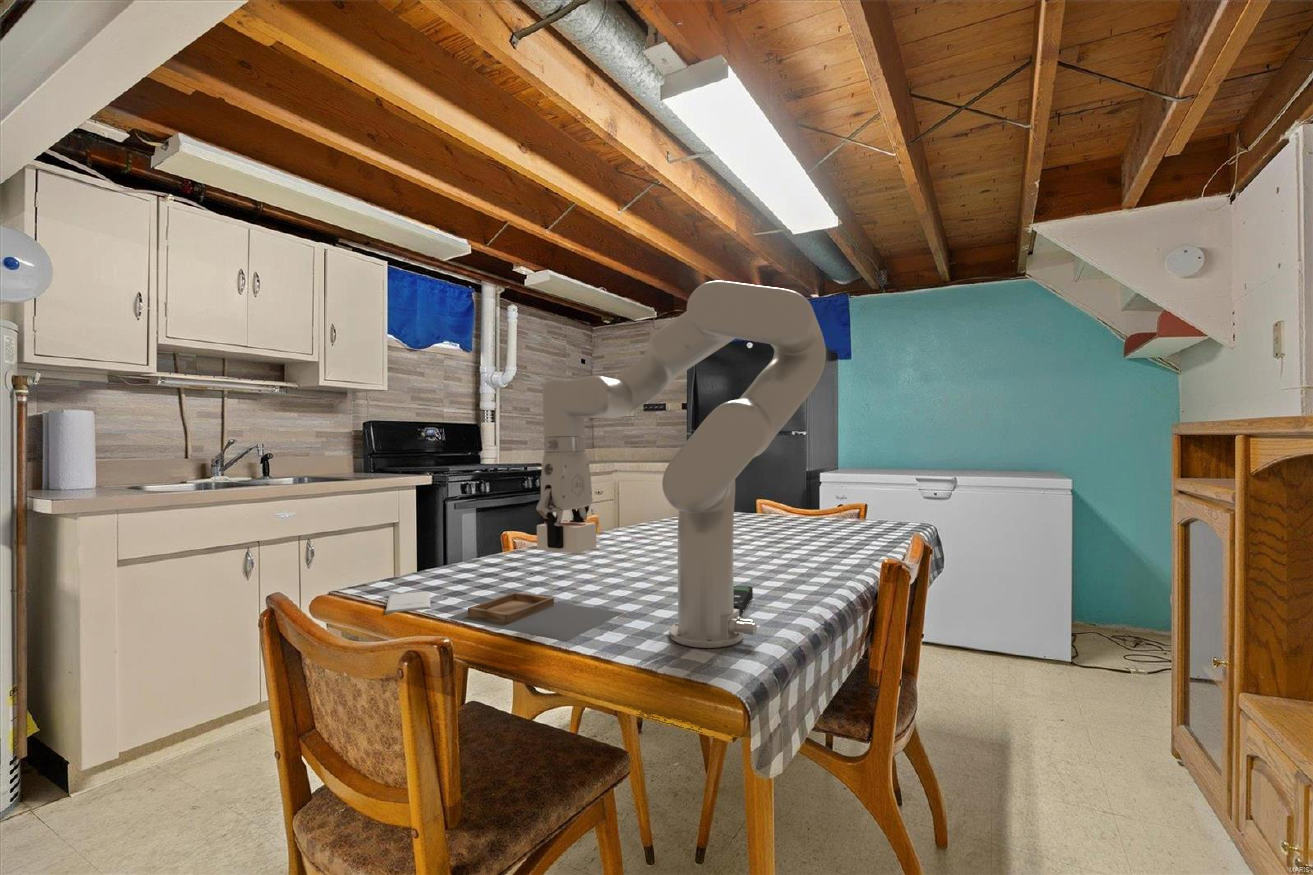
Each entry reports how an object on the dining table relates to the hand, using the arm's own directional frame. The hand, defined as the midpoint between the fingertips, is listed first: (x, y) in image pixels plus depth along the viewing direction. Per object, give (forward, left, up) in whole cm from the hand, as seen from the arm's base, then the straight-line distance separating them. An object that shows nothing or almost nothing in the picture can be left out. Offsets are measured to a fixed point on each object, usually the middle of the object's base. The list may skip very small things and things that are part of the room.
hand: (566, 543), depth 112 cm
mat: (+7, 0, -15) cm, 16 cm away
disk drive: (-20, -25, -15) cm, 36 cm away
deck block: (0, 0, -1) cm, 1 cm away
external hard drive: (+37, +5, -15) cm, 40 cm away
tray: (+13, 0, -14) cm, 19 cm away
